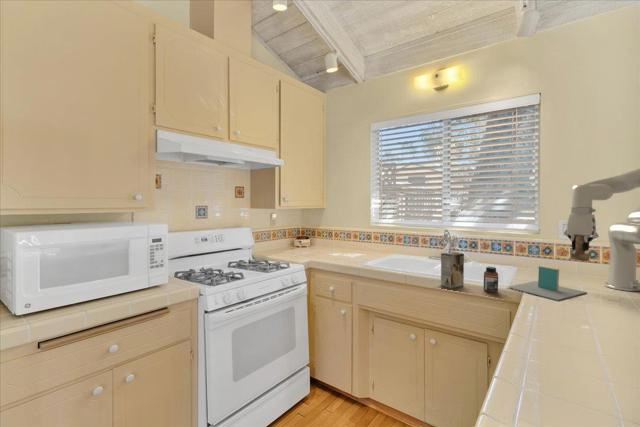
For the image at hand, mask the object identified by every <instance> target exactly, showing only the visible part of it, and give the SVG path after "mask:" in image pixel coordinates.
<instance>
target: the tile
mask: <svg viewBox="0 0 640 427" xmlns="http://www.w3.org/2000/svg"><path fill="white" fill-rule="evenodd" d="M537 281H538V287H540V288H545V289H549V290H553V291H558V288H559V286H560V285H559V284H560V269H558V268H553V267H547V266H542V265H539V266H538V280H537Z"/></svg>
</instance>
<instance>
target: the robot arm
mask: <svg viewBox="0 0 640 427" xmlns="http://www.w3.org/2000/svg"><path fill="white" fill-rule="evenodd" d="M639 188H640V168H637V169H634V170H630V171H628V172H625V173H622V174H619V175H614V176H609V177H607V178H603V179H598V180H594V181H591V182H590V181H589V182H587V183H584V184H576V185H573V186H572V189H571V190H572V191H571V207H570V208H571V212H570V213H569V215H568V219H567V223H566V224H567V225H566V229H565V231H564V232H563V235H564V236H566V237H567V238H568V239H569V240H570V242H571V249H572V250H573V251H575V241H576V235H582V236H584V243H583V251H585V252H588V251H589V249H590V243H591V242H592V241H593V240H594V239H597V238H599V237H600V236H599V234H598V233H597V222H596V216H595V214H594V213H596V208H594V207H593V201H607V200H609V199H611V198H612V197H613V196H614V194H623V193H628V192H630V191H633V190H636V189H639ZM607 235H608V240H609V261H608V264H609V267H608V268H609V269H608V281H607V282H604V283H603V285H604V287H606V288H609V289H613V290H619V291H623V292H624V291H625V292H638V291H640V282H639V279H636V278H637V265H638V264H637V260H638V251H637V248H636V247H635V245H640V205H638V206H637V207H636V208H635V209H634V210H632V211H631V212H630V213H629V214H628V215H627V217H626V222H625V221H623V222H615V223H612V224H611V225H609V227H608V230H607Z"/></svg>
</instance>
